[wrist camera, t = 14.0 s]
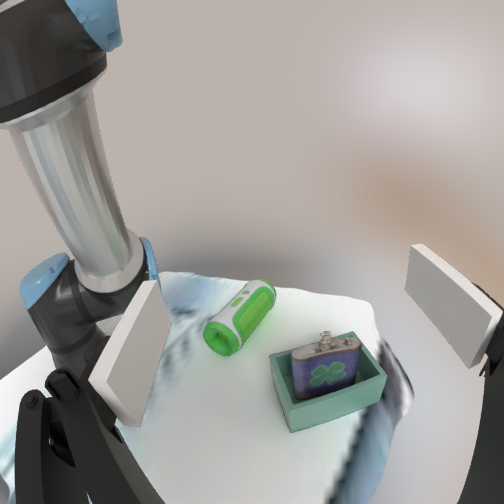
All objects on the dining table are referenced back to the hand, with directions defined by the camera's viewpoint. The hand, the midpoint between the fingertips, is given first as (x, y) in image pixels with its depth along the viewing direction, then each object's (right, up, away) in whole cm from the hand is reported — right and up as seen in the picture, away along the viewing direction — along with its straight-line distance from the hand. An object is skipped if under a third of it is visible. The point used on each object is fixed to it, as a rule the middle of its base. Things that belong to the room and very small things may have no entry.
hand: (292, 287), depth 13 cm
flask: (+9, -18, +22) cm, 30 cm away
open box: (+9, -19, +22) cm, 31 cm away
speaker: (-3, -14, +40) cm, 43 cm away
